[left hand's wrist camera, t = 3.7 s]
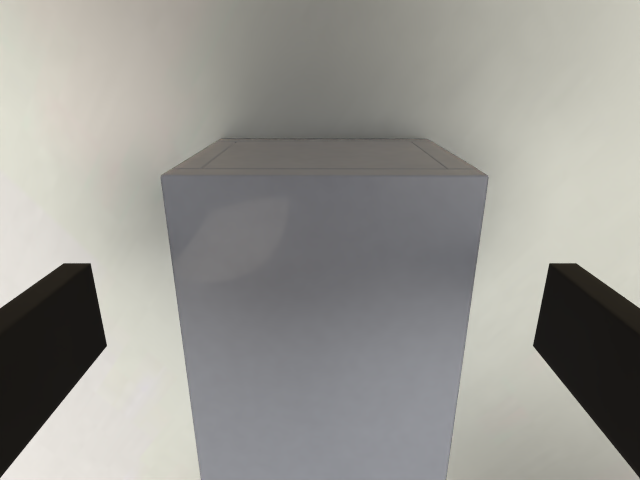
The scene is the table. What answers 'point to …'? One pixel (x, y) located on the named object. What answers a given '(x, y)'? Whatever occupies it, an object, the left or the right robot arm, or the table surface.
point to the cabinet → (324, 304)
